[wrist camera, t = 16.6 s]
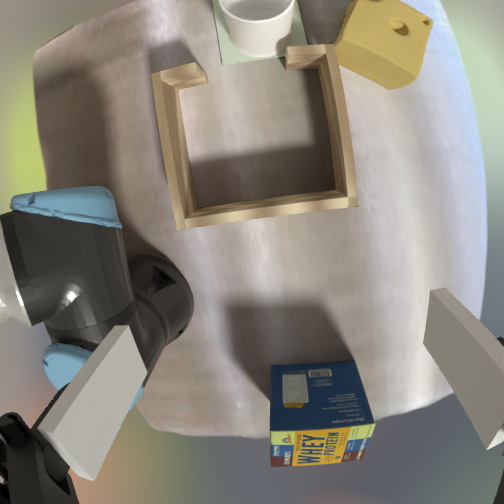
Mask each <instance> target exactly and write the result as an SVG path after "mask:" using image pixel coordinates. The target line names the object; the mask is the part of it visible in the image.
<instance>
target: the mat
mask: <svg viewBox="0 0 504 504" xmlns="http://www.w3.org/2000/svg"><path fill="white" fill-rule="evenodd" d="M212 3H213V9H214V15H215V21H216V27H217V33H218V40H219V46H220V52H221V58H222V64H223V66H224V65H230V64H235V63H241V62H248V61H254V60H261V59H269V58H277V57H286V51H287V47H291V46H303V45H307V40H306V36H305V31H304V27H303V23H302V19H301V15H300V11H299V7H298V3H297V0H295V3H294V9H293V16H292V22H291V31H292V34H291V39H290V42H289V44H288V45H287V46H286V48H285V49H283V50H282V51H281V52H279V53H278V54H276V55H273V56H270V57H264V58H257V57H251V56H248V55H245V54H243V53H242V52H240V51H239V50H237V49H236V48H235V46H234V45H233V43H232V42H231V39H230V31H229V29H228V26H227V23H226V21H225V18H224V15H223V13H222V10H221V8H220V5H219V2H218V0H212Z"/></svg>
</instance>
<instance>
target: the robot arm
mask: <svg viewBox="0 0 504 504" xmlns="http://www.w3.org/2000/svg"><path fill="white" fill-rule="evenodd" d="M10 208H11V209H12V211H11V212H8V213H5V214H2V215H0V323H1V322H4V321H6V320H8V319H13V320H16V321H18V322H20V323H22V324H24V325H26V326H28V327H31V326H33V325H35V324H38V323H41V322H44V324H45V326H46V329H47V331H48V334H49V336H50V339H51V342H52V344H51V345H49V346H48V347H47V348H46V350H45V353H44V358H43V368H44V370H45V373H46V375H47V377H48V378H49V380H50V381H51V383H52V384H53V385H54V386H55V388H56V389H57V390H58V392H57V394H56V395H55V396H54V398H53V400H51V402H50V403H49V405H48V407H46V408H45V410H44V412H43V413H42V414H41V415H40V417H39V418H38V419H37V421H36V422H35V424H34V425H33V426H32V428H31V429H29V428H28V426H27V425H26V423H25V422H24V421H23V419H22V418H21V416H20V415H19V414H17V413H14V412H10V413H6V414H4V415H3V416H1V417H0V437H1V438H0V476H1V477H2V478H3V479H4V482H3V484H2V483H0V504H79V502H78V498H77V495H76V492H75V489H74V485H73V482H72V479H71V477H70V475H69V474H68V473H67V472H68V470H69V468H71V469H72V470H73V471H74V472H75V473H76V474H77V475H78V476H80V477H83V478H86V479H90V480H93V481H95V478H96V476H97V474H98V472H99V470H100V468H101V466H102V464H103V461H104V459H105V457H106V455H107V453H108V451H109V449H110V447H111V445H112V442H113V441H114V439H115V436H116V434H117V432H118V430H119V428H120V426H121V424H122V422H123V420H124V418H125V416H126V414H127V412H128V411H130V410H131V409H132V408H133V406H134V405H135V403H136V402H137V400H138V399H139V397H141V396H142V394H143V392H144V390H143V389H144V387H145V385H146V383H147V381H148V379H149V377H150V375H151V373H152V371H153V369H154V367H155V365H156V363H157V361H158V359H159V357H160V355H161V353H162V351H163V349H164V347H165V346H166V345H168V344H169V343H171V342H172V341H174V340H175V339H177V338H178V337H179V336H180V335H181V334H182V333H183V332H184V331H185V330H186V328H187V326H188V324H189V322H190V320H191V318H192V315H193V310H194V301H193V295H192V292H191V289H190V287H189V285H188V283H187V281H186V280H185V278H184V277H183V276H182V275H181V273H180V272H179V271H178V270H177V269H175V268H174V267H173V266H172V265H170V264H169V263H167V262H165V261H163V260H161V259H159V258H156V257H152V256H134V257H131V258H129V259H127V257H126V252H125V247H124V242H123V236H122V231H121V228H122V224H121V223H120V222H119V218H118V214H117V209H116V204H115V200H114V197H113V195H112V193H111V192H110V191H109V190H108V189H106V188H105V187H102V186H87V187H74V188H64V189H55V190H47V191H40V192H33V193H27V194H19V195H15V196H13V197H12V199H11V204H10ZM423 344H424V345H425V347H426V348H427V350H428V351H429V353H430V354H431V356H432V358H433V359H434V361H435V362H436V364H437V365H438V367H439V368H440V370H441V372H442V373H443V375H444V376H445V378H446V379H447V381H448V383H449V384H450V386H451V388H452V389H453V391H454V393H455V394H456V396H457V398H458V399H459V401H460V403H461V404H462V406H463V408H464V409H465V411H466V413H467V415H468V416H469V418H470V420H471V422H472V423H473V425H474V427H475V429H476V431H477V433H478V435H479V436H480V438H481V440H482V442H483V444H484V446H485V448H486V449H489V448H491V447H493V446H495V445H497V444H499V443H501V442H503V440H504V338H502V337H499V338H495V337H494V336H493V335H492V334H491V333H490V332H489V331H488V329H486V327H485V326H483V325H482V323H481V322H480V321H479V320H478V319H477V318H476V317H475V316H474V315H473V314H472V313H471V312H470V311H469V310H468V309H467V308H466V307H465V306H464V305H462V304H461V303H460V302H459V301H458V300H457V299H456V298H455V297H454V296H453V295H452V294H451V293H450V292H449V291H448V290H447V289H446V288H441V289H436V290H431V291H430V298H429V306H428V315H427V322H426V329H425V335H424V341H423ZM502 456H504V451H503V454H502ZM493 504H504V470H503V474H502V478H501V481H500V484H499V487H498V491H497V494H496V496H495V499H494V503H493Z"/></svg>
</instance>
